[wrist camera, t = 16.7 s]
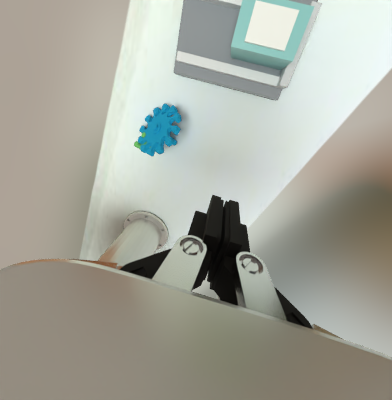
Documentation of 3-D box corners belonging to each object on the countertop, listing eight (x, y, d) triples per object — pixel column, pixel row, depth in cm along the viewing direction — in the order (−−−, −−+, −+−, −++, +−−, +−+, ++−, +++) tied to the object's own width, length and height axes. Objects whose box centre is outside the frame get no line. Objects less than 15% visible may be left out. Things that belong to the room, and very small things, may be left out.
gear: (174, 90, 31) (179, 137, 28) (192, 112, 36) (198, 154, 32) (131, 120, 36) (131, 163, 33) (152, 136, 41) (154, 174, 38)
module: (280, 70, 27) (293, 60, 22) (230, 58, 28) (230, 45, 22) (296, 27, 25) (316, 4, 19) (241, 14, 25) (245, -12, 20)
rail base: (275, 100, 30) (282, 99, 26) (176, 74, 31) (168, 69, 27) (313, 4, 25) (330, -16, 21) (190, -26, 25) (183, -51, 21)
